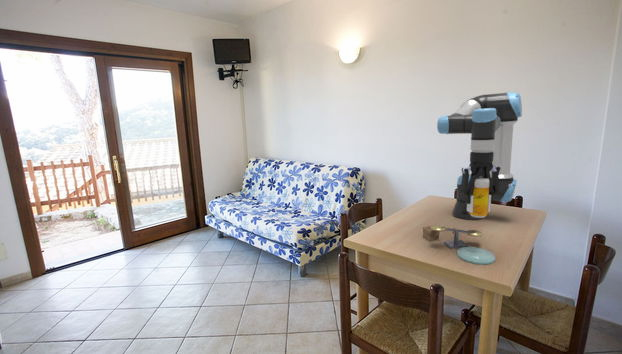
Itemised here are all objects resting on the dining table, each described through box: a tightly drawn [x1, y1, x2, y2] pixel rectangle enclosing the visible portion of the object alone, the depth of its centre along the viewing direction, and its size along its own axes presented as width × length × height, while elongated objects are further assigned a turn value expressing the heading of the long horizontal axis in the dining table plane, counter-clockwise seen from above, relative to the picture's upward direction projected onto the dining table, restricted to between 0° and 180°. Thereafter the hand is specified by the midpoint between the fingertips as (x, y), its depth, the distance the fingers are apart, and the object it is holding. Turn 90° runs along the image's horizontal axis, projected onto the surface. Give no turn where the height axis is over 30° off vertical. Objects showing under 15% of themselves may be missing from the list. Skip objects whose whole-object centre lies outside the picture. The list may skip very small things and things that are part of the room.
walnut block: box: [422, 225, 440, 242], centre depth 134 cm, size 5×5×5 cm
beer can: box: [469, 176, 489, 219], centre depth 111 cm, size 6×6×15 cm
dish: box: [456, 246, 496, 265], centre depth 115 cm, size 13×13×1 cm
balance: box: [430, 224, 484, 250], centre depth 126 cm, size 22×7×9 cm, turn 92°
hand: (478, 211), depth 112 cm, fingers closed on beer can, 6 cm apart
